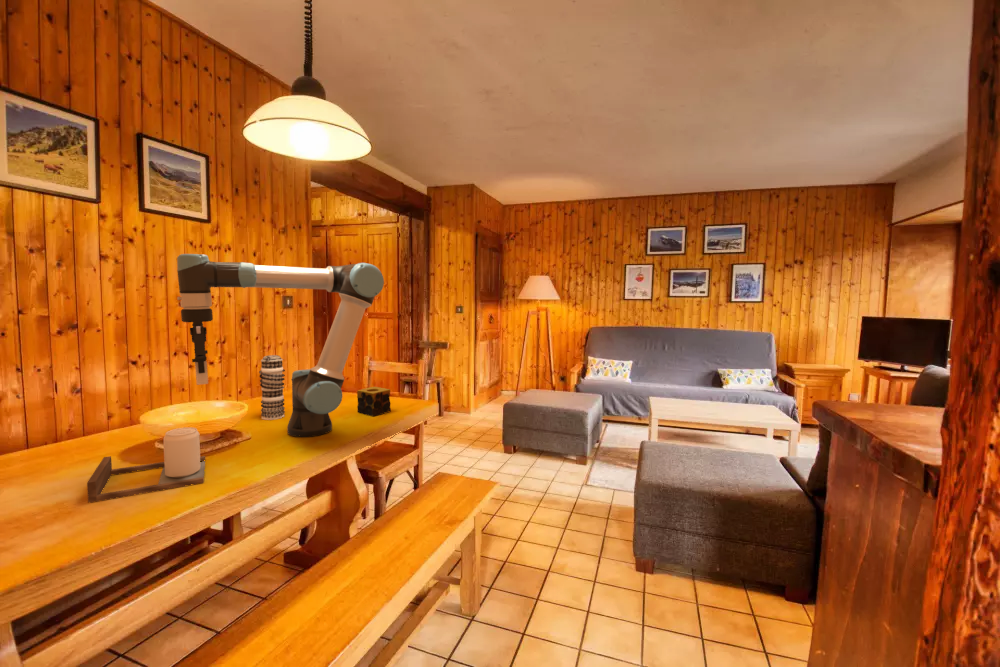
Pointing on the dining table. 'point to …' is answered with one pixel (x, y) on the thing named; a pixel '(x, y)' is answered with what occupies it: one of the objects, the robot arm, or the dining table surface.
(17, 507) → the dining table surface
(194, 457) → the beverage can
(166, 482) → the dark frame
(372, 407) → the dark patterned box
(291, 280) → the robot arm
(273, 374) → the decorative candle
